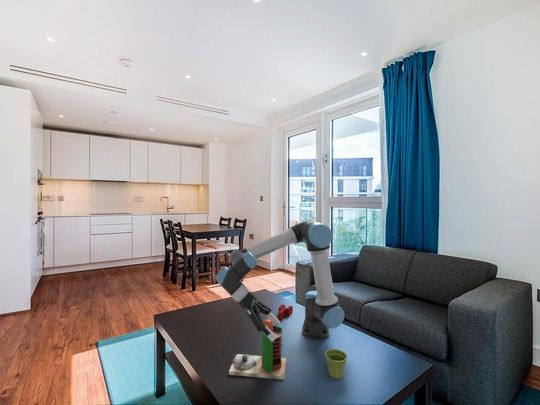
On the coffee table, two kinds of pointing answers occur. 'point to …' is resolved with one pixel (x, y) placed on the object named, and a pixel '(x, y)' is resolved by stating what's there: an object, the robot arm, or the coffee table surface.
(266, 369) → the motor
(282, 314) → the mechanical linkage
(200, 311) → the coffee table surface
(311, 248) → the robot arm
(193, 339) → the coffee table surface
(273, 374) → the board
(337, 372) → the plant pot
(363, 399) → the coffee table surface
